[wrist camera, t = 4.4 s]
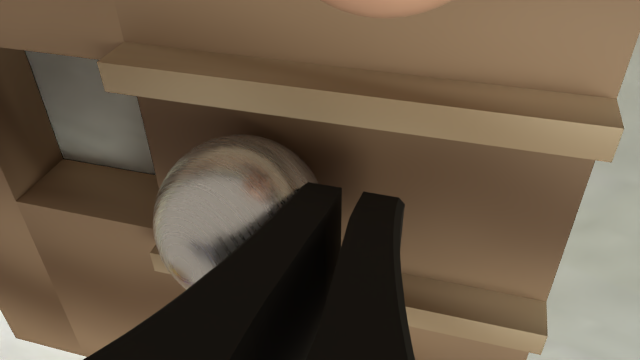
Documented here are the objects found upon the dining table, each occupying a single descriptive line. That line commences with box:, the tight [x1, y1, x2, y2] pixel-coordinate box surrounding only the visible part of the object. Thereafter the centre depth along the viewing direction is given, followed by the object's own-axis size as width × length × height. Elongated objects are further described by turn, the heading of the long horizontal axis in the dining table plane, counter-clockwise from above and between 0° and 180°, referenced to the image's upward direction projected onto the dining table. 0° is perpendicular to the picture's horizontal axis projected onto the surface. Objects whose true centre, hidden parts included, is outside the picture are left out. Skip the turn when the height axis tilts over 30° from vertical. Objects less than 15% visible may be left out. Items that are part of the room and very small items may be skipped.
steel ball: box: [153, 135, 319, 290], centre depth 11 cm, size 3×3×3 cm
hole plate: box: [0, 0, 640, 360], centre depth 13 cm, size 18×16×3 cm
